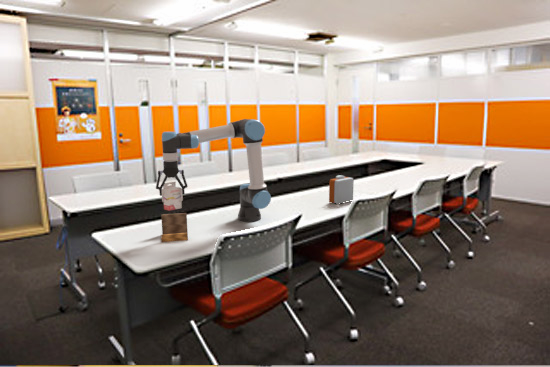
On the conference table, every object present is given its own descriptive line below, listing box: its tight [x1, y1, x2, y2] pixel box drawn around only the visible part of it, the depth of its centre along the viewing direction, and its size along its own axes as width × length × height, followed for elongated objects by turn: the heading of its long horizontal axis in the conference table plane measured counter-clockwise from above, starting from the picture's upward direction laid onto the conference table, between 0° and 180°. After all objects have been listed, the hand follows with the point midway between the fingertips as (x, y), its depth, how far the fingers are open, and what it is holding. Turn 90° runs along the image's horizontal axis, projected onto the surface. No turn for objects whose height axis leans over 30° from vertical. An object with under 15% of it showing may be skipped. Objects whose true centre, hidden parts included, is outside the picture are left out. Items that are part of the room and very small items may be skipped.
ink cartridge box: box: [162, 181, 183, 212], centre depth 216 cm, size 9×5×15 cm, turn 141°
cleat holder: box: [160, 212, 189, 243], centre depth 219 cm, size 14×13×12 cm
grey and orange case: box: [328, 174, 355, 205], centre depth 296 cm, size 18×9×21 cm, turn 130°
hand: (172, 200), depth 216 cm, fingers closed on ink cartridge box, 9 cm apart
